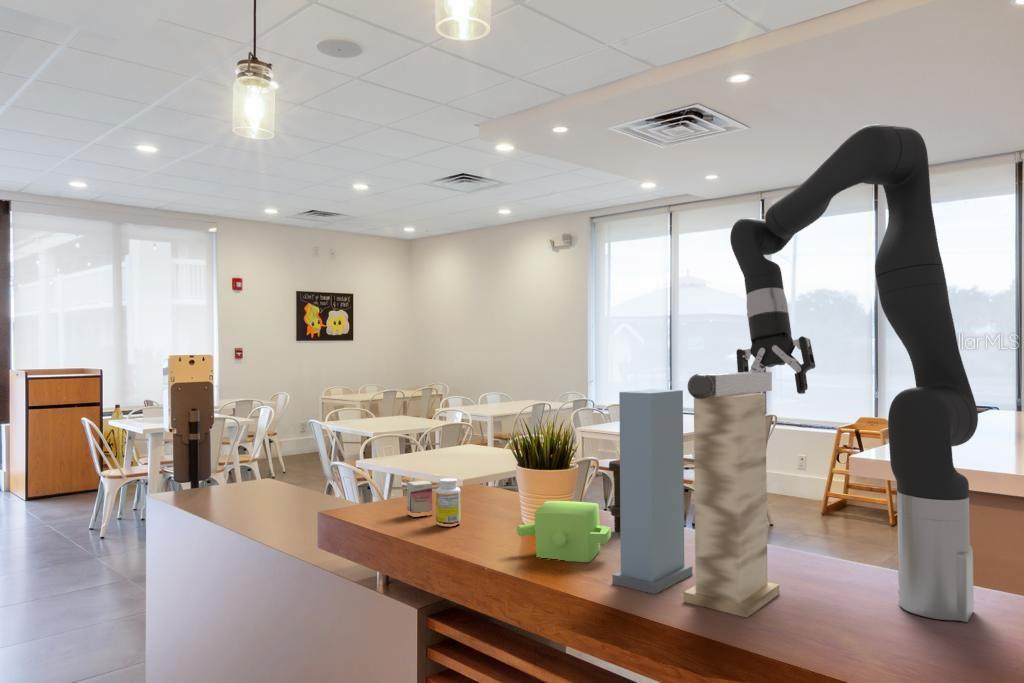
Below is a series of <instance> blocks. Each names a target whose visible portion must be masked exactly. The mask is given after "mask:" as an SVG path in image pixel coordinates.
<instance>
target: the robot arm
mask: <svg viewBox="0 0 1024 683" xmlns="http://www.w3.org/2000/svg"><path fill="white" fill-rule="evenodd" d="M929 166H930V165H929V156H928V148H927V145H926V143H925V140H924V138H923V136H922V135H921V134H920V132H918V131H917V130H915V129H914V128H911V127H908V126H899V125H889V124H868V125H864V126H862V127H861V128H858V129H857V130H856V131H854V133H851V135H849V137H847V138H846V139H845V141H844V142H842V143H841V144H840V146H839V147H837V148H836V149H835V150H834V152H833V153H832V154H830V156H829V157H828V158H827V159H826V160H825V161H824V162H822V164H821V165H820V166H819V167H818V168H817V169H816V170H815V171H814V172H813V173H811V175H810V176H808V178H807V179H806V180H804V181H803V182H802V183H800V185H798V186H797V187H796V188H795V189H793V190H792V191H790V192H789V193H787V194H786V195H784V196H783V197H782V198H780V199H778V200H777V201H776V202H775V203H773V204H772V205H771V206H770V207H769V208H767V211H766V213H765V214H764V215H765V218H764V219H762V218H754V217H753V218H752V217H743V218H740V219H738V220H737V221H736V222H735V223H734V225H733V226H732V228H731V230H730V235H729V236H730V237H729V238H730V246H731V250H732V252H733V254H734V257H735V259H736V261H737V264H738V266H739V268H740V270H741V272H742V275H743V278H744V286H745V287H744V288H745V294H746V316H747V320H748V327H749V328H748V329H749V335H750V336H749V337H750V341H751V345H750V348H746V349H742V348H741V349H740V348H738V349H736V364H737V365H736V366H737V373H739V372H765V370H766V368H773V367H775V366H785V365H788V366H789V367H790V368H792V369H793V371H795V373H794V379H795V387H796V393H797V394H800V395H803V394H806V391H807V390H808V379H807V372H808V371H810V370H813V369H815V368H816V362H815V356H814V353H813V348H812V343H811V340H810V338H808V337H805V336H800V337H799V338H797V339H793V337H792V328H791V322H790V314H789V309H788V308H789V307H788V302H787V297H786V294H785V290H784V288H785V287H784V280H783V276H782V274H783V273H782V270H781V267H780V265H779V264H778V263H776V262H774V261H772V260H769V259H767V258H766V257H765V256H766V255H767V256H769V255H774V254H776V253H778V252H781V251H782V250H783V249H784V248H785V246H787V244H788V243H789V242H790V241H791V240H792V239H793V237H794V236H795V235H796V234H797V233H799V232H801V231H802V230H804V229H805V228H807V227H808V226H810V225H811V224H813V223H815V222H817V221H818V220H819V219H820V218H821V217H822V216H823V215H824V213H825V212H826V211H827V209H828V207H829V205H830V203H831V201H832V199H833V198H834V197H835V196H836V195H838V194H840V193H842V192H843V191H845V190H847V189H849V188H851V187H853V186H857V185H859V184H867V185H879V186H880V185H881V186H882V188H883V191H884V194H885V198H886V199H885V200H886V205H887V212H888V219H887V227H886V230H885V233H884V235H883V238H882V241H881V244H880V246H879V248H878V252H877V254H876V259H875V263H874V272H875V275H874V276H875V280H876V286H877V289H878V290H877V291H878V296H879V302H880V305H881V308H882V311H883V313H884V315H885V318H886V319H887V321H888V323H889V324H890V326H891V328H892V329H893V331H894V332H895V334H896V335H897V337H898V338H899V340H900V341H901V343H902V345H903V346H904V348H905V350H906V352H907V353H908V356H909V359H910V361H911V365H912V369H913V370H912V371H913V374H914V380H915V381H914V382H915V387H910V388H907V389H904V390H902V391H900V392H899V393H897V395H896V396H894V398H893V399H892V402H891V403H890V405H889V411H888V417H887V418H888V419H887V422H888V423H887V429H888V430H887V431H888V432H887V433H888V445H889V446H888V448H889V459H890V460H889V462H890V469H891V471H892V474H893V476H894V478H895V481H896V490H897V491H896V492H897V493H896V494H897V495H896V496H897V498H896V499H897V500H896V502H897V504H896V505H897V569H898V570H897V572H898V573H897V575H898V577H897V578H898V579H897V580H898V588H897V589H898V590H897V593H898V605H899V606H900V608H902V609H903V610H905V611H906V612H909V613H912V614H915V615H918V616H920V617H921V616H922V617H925V618H930V619H935V620H944V621H960V622H965V623H968V622H969V620H970V618H971V616H972V615H973V612H974V611H975V610H974V609H975V608H974V604H975V603H974V601H975V600H974V556H973V555H974V554H973V552H974V551H973V546H971V544H970V543H971V540H970V538H971V537H970V536H971V535H970V534H971V533H970V485H969V480H968V479H967V477H966V476H965V475H963V474H961V473H959V472H958V471H957V470H956V468H955V465H954V459H953V448H952V447H957V446H961V445H963V444H965V443H967V442H968V441H970V440H971V439H972V438H973V436H974V434H975V433H976V430H977V429H978V424H979V414H978V409H977V408H978V407H977V404H976V401H975V396H974V393H973V390H972V386H971V384H970V382H969V378H968V375H967V373H966V372H967V371H966V369H965V365H964V363H963V360H962V356H961V353H960V348H959V344H958V338H957V333H956V328H955V323H954V318H953V313H952V309H951V304H950V299H949V291H948V284H947V279H946V275H945V269H944V264H943V261H942V260H943V259H942V255H941V252H940V247H939V242H938V236H937V229H936V225H935V218H934V213H933V212H934V211H933V204H932V198H931V197H932V196H931V193H932V192H931V183H930V167H929ZM795 348H797V349H798V350H800V353H801V356H802V357H801V358H802V362H803V363H802V364H801V363H800V361H799V360H798V359H797V358H796V357H795V356H794V355H793V352H794V350H795ZM751 355H752V357H753V358H754V360H753V361H752V364H751V367H750V366H749V361H750V358H751ZM749 367H750V369H749ZM756 393H762V392H756Z"/></svg>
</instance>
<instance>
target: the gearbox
mask: <svg viewBox="0 0 1024 683" xmlns="http://www.w3.org/2000/svg"><path fill="white" fill-rule="evenodd" d="M611 531H612V530H611V527H610V526H605V525H600V508H599V503H597V502H596V503H595V502H586V501H571V500H547V501H544V502H543V503H542V504H541V505H540V506H539V507H538V508H536V510H535V512H534V522H531V523H525V524H520V525H519V524H518V525H517V526H516V532H517V536H518V537H527V536H535V555H536V558H537V557H541V558H552V559H559V560H558V561H560V560H565V561H564V562H574V561H575V562H576V563H589V562H591V561H592V560H594V558H595V557H596V556H597V554H598V553H599V552H600V551H601V550H600V549H601V544H607V543H608V541H609V540H610V539H611V537H612V532H611ZM541 558H540V559H541Z"/></svg>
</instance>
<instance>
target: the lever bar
mask: <svg viewBox="0 0 1024 683" xmlns="http://www.w3.org/2000/svg"><path fill="white" fill-rule="evenodd" d="M772 375H773V371H763V372H750V371H749V372H739V373H738V372H727V373H726V372H724V373H707V374H705V373H695V374H694V375H692V376H691V377H690V378H689V379H688V382H687V391H688V393H689V394H690V396H692V397H693V399H694V398H696V399H706V398H708V397H721V396H730V395H739V394H747V393H756V392H761V393H765V392H772V391H773V376H772Z"/></svg>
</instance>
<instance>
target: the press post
mask: <svg viewBox="0 0 1024 683" xmlns="http://www.w3.org/2000/svg"><path fill="white" fill-rule="evenodd" d="M618 394H619V395H618V398H619V400H618V401H619V407H618V408H619V460H620V532H619V533H620V534H619V535H620V570H619V571H618V572H615V573H613V574H612V580H611V581H612V583H614V584H613V585H616V584H618V585H617V586H620V585H622V586H621V587H624V586H625V587H624V588H628V587H629V588H628V589H632V588H633V589H632V590H635V589H637V590H636V591H639V590H641V592H643V591H644V593H647V592H648V594H651V593H652V595H657V594H658V593H661V592H663V591H664V590H666V589H667V588H669V587H671V586H674V585H675V584H678V583H680V582H681V581H683V580H685V579H687V578H690V577H691V576H693V565H689V564H686V563H685V497H684V496H685V492H684V491H685V490H684V488H685V482H684V480H685V478H684V475H685V474H684V473H685V472H684V468H685V467H684V466H685V465H684V390H682V389H681V390H680V389H678V390H677V389H655V388H654V389H653V388H652V389H642V390H640V389H639V390H629V391H619V393H618Z"/></svg>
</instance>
